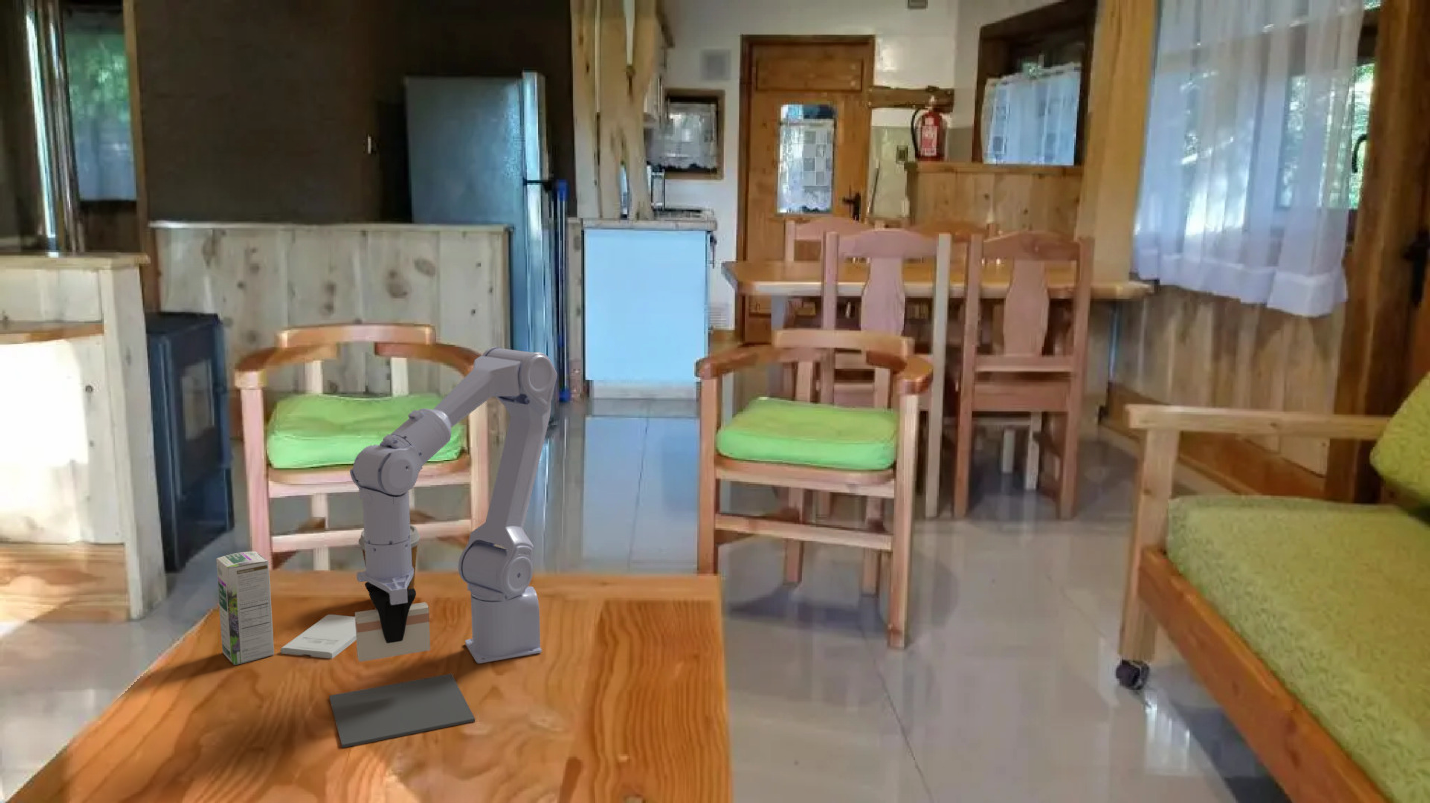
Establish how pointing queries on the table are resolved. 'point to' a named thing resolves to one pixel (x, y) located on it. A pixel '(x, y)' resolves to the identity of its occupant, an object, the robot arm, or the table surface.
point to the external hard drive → (324, 638)
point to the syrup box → (245, 607)
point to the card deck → (376, 647)
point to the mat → (399, 710)
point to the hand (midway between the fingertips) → (392, 637)
